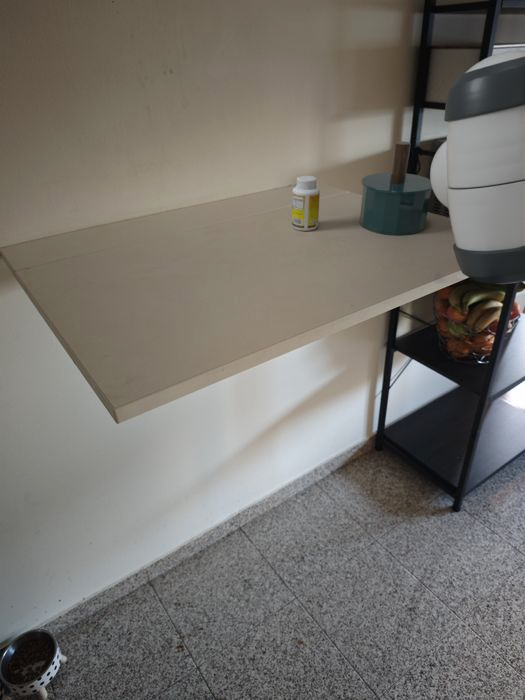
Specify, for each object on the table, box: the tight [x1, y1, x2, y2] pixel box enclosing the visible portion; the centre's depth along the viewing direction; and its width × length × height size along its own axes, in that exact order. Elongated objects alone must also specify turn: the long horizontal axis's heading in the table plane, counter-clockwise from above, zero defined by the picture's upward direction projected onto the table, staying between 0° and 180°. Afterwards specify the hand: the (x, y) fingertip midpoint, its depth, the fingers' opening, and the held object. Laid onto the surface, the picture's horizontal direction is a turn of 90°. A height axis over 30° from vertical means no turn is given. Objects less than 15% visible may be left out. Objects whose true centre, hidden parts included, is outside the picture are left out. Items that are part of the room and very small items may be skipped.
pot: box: [359, 185, 432, 236], centre depth 105 cm, size 14×14×8 cm
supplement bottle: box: [291, 175, 321, 232], centre depth 103 cm, size 6×6×10 cm
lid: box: [360, 140, 433, 194], centre depth 101 cm, size 15×15×9 cm
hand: (477, 100), depth 88 cm, fingers open, 8 cm apart
